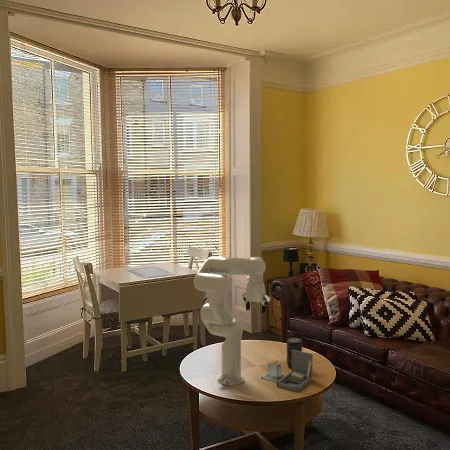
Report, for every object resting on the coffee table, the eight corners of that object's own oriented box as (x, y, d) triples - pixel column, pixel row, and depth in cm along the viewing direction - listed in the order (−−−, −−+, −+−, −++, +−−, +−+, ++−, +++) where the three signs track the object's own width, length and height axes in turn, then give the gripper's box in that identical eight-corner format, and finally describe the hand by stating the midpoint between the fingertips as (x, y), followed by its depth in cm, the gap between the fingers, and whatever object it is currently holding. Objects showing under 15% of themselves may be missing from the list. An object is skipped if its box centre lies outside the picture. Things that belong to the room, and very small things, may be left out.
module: (276, 379, 240) (276, 364, 239) (267, 377, 242) (267, 362, 242) (281, 376, 244) (281, 360, 243) (272, 374, 246) (272, 358, 246)
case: (297, 393, 226) (298, 365, 225) (276, 387, 232) (276, 360, 231) (312, 380, 240) (312, 353, 239) (292, 375, 246) (292, 349, 245)
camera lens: (302, 365, 259) (303, 338, 258) (301, 371, 251) (301, 343, 250) (287, 363, 261) (287, 336, 260) (285, 369, 253) (285, 341, 252)
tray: (279, 383, 236) (279, 381, 236) (261, 379, 242) (261, 376, 242) (288, 376, 244) (288, 374, 244) (270, 372, 250) (270, 370, 250)
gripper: (238, 279, 262) (238, 310, 263) (266, 283, 252) (266, 315, 254) (245, 277, 268) (245, 307, 270) (273, 280, 258) (273, 311, 260)
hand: (255, 311), depth 262 cm, fingers open, 9 cm apart
